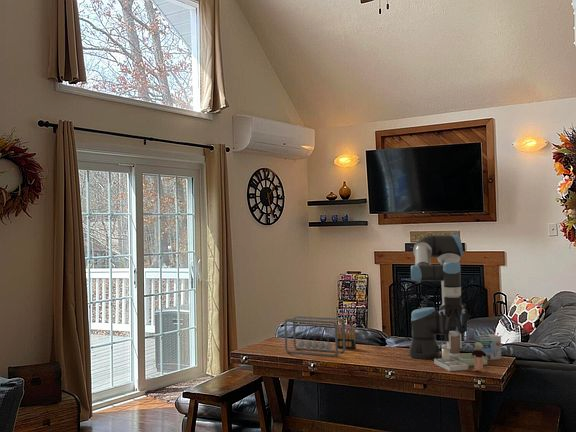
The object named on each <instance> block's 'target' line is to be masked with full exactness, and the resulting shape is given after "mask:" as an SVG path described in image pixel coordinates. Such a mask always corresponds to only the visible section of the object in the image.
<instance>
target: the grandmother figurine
mask: <svg viewBox="0 0 576 432" xmlns="http://www.w3.org/2000/svg"><path fill="white" fill-rule="evenodd" d="M482 347H483V346H482V344H481V343H480V342H476V343H475V342H474V350H473V351H472V352H471V353H472V355H471V358H473V357H474V355H475V366H474V368H473V369H472V371H473V372H478V371H483V372H484V365H483V357H482V356H484V357H485V359H486V360H487V361H489V360H488V358H487V355H486V354H485V353H484V352H483V351H481V348H482ZM475 348H476V350H475Z"/></svg>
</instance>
